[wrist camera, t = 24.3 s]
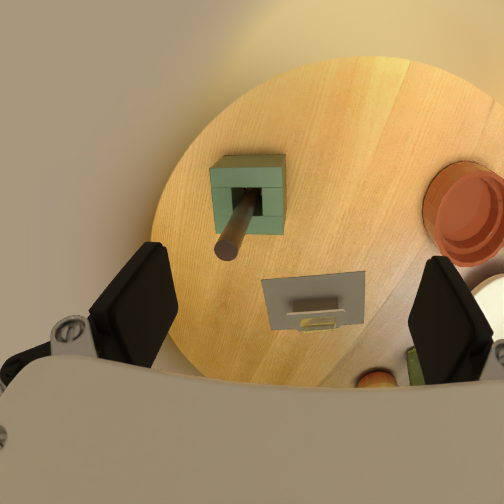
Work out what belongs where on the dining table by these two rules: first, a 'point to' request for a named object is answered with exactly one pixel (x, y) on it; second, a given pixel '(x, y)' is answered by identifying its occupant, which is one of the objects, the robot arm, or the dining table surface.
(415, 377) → the vegetable
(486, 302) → the bowl
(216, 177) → the stand
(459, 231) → the mixing bowl
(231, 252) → the stick
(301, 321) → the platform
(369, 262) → the dining table surface
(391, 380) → the apple
